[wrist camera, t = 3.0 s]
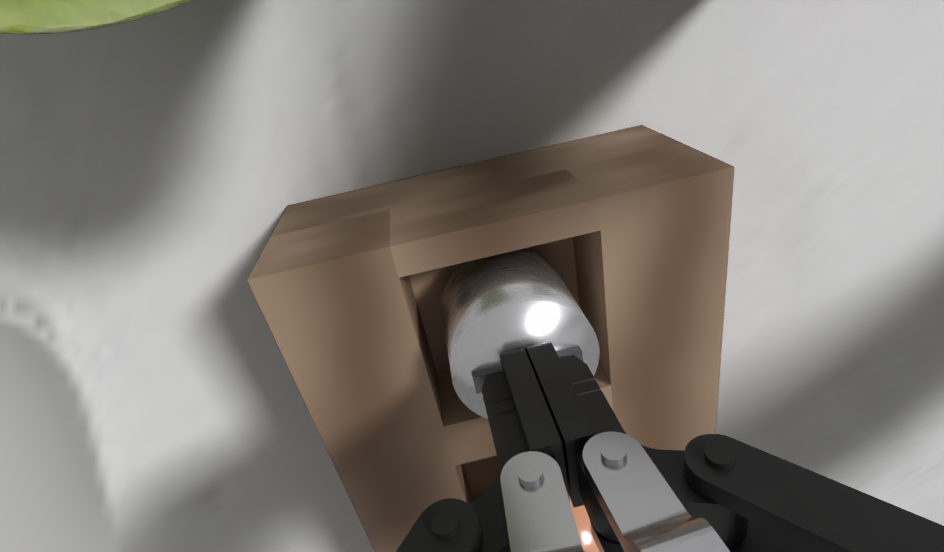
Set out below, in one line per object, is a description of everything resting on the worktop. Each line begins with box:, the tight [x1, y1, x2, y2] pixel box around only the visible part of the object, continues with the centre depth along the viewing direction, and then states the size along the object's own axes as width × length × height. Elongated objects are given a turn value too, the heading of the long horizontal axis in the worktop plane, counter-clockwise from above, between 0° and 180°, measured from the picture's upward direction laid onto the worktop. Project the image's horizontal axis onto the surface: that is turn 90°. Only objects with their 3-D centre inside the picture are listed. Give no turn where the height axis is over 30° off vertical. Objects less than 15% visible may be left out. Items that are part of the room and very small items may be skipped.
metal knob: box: [441, 248, 599, 419], centre depth 16 cm, size 4×4×4 cm
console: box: [247, 125, 734, 552], centre depth 22 cm, size 14×24×6 cm, turn 11°
